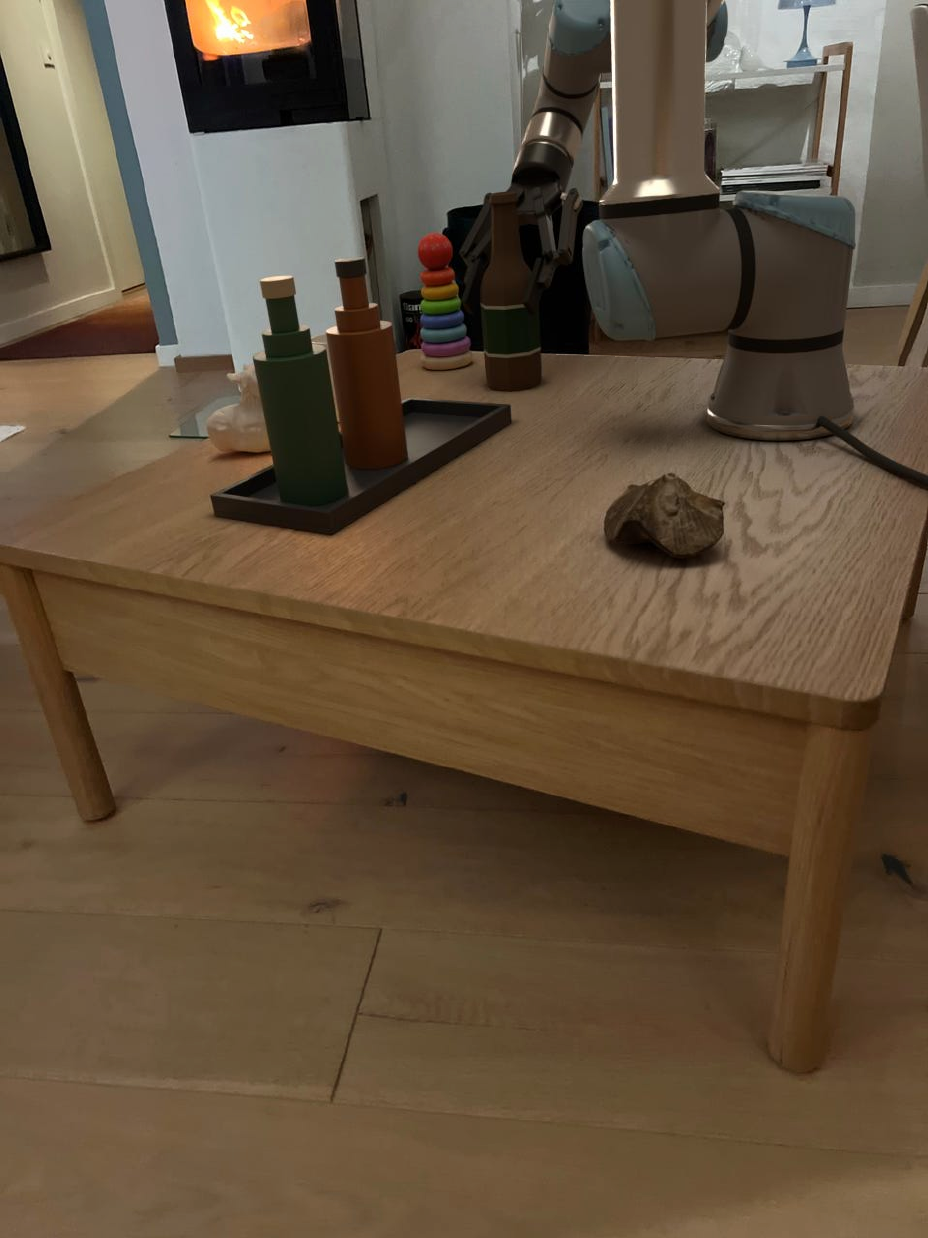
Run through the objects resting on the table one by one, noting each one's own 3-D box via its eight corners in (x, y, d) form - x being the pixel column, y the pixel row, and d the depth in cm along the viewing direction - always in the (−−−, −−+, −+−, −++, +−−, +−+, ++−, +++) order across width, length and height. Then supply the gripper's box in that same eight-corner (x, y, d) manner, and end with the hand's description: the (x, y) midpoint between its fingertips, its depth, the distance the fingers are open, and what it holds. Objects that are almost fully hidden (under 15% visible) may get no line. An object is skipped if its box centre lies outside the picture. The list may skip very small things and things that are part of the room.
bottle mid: (419, 459, 97) (396, 256, 88) (362, 474, 94) (332, 266, 85) (390, 445, 103) (365, 252, 93) (335, 459, 100) (304, 262, 90)
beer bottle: (538, 390, 120) (529, 192, 109) (481, 392, 122) (466, 197, 111) (545, 375, 127) (537, 187, 116) (491, 377, 129) (478, 192, 117)
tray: (410, 414, 116) (408, 397, 114) (511, 422, 109) (510, 404, 108) (214, 516, 89) (209, 495, 88) (331, 535, 82) (327, 512, 81)
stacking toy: (419, 362, 142) (405, 232, 133) (470, 356, 142) (459, 227, 133) (423, 373, 135) (408, 238, 126) (476, 367, 135) (465, 232, 126)
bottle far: (359, 494, 89) (326, 275, 80) (295, 512, 86) (253, 287, 77) (330, 477, 95) (297, 269, 85) (270, 494, 92) (227, 281, 82)
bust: (220, 479, 106) (225, 415, 97) (194, 430, 108) (196, 363, 99) (312, 454, 112) (325, 391, 102) (286, 408, 114) (296, 342, 104)
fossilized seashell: (752, 518, 71) (664, 505, 80) (714, 458, 68) (627, 450, 76) (696, 589, 70) (613, 568, 78) (655, 531, 66) (572, 515, 75)
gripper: (627, 176, 119) (581, 326, 115) (488, 184, 129) (440, 323, 125) (612, 132, 113) (562, 290, 109) (466, 145, 123) (415, 290, 119)
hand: (497, 308), depth 117 cm, fingers open, 8 cm apart
